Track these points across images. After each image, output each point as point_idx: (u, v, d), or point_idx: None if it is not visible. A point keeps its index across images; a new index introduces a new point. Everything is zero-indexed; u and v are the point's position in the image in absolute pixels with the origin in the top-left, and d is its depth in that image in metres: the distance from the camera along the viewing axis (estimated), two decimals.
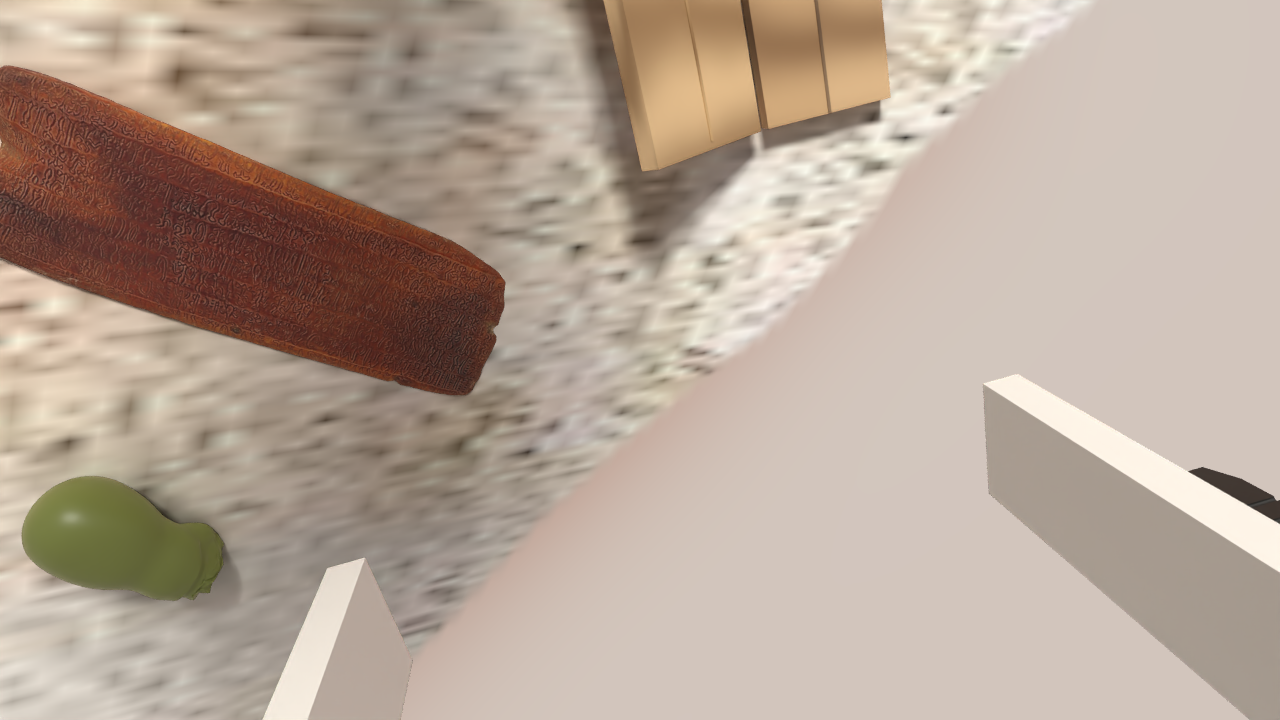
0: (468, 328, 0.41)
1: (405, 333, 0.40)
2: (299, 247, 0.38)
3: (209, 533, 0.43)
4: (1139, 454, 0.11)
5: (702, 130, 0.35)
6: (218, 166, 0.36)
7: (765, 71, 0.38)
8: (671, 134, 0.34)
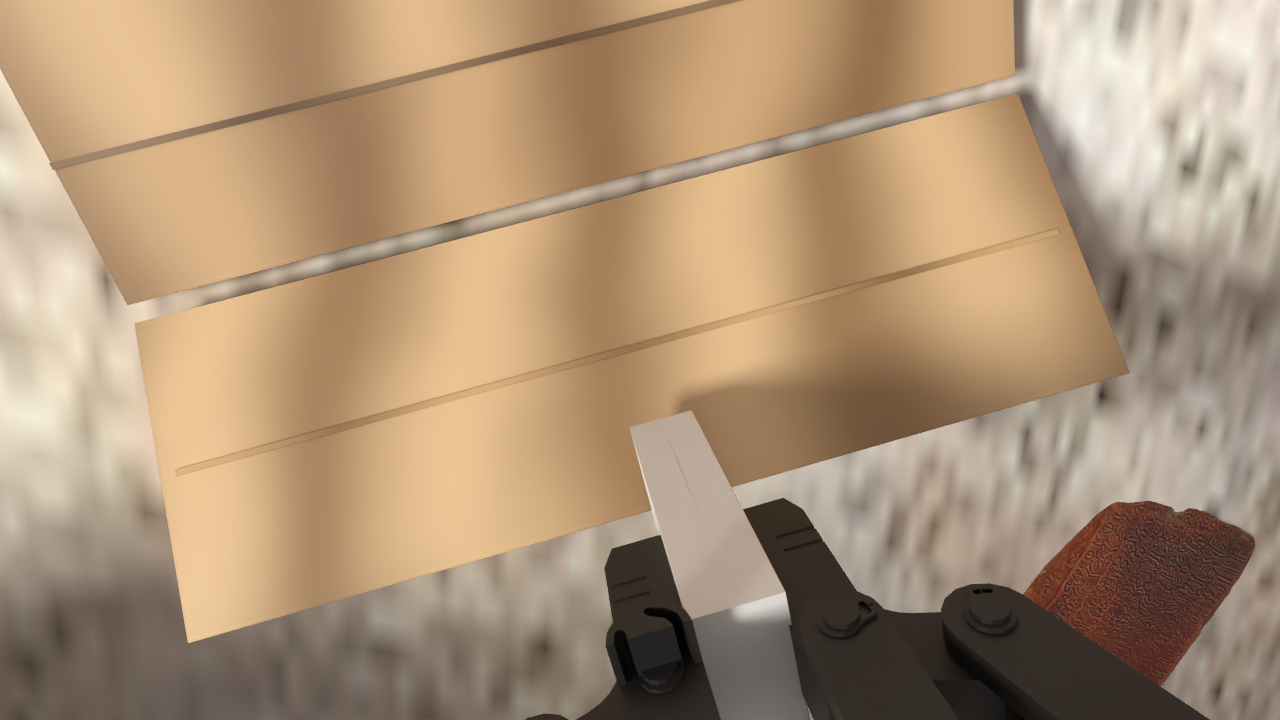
0: (1169, 545, 0.28)
1: (1153, 620, 0.29)
2: None
3: None
4: (718, 488, 0.13)
5: (1042, 257, 0.19)
6: None
7: (913, 89, 0.19)
8: (1061, 339, 0.18)
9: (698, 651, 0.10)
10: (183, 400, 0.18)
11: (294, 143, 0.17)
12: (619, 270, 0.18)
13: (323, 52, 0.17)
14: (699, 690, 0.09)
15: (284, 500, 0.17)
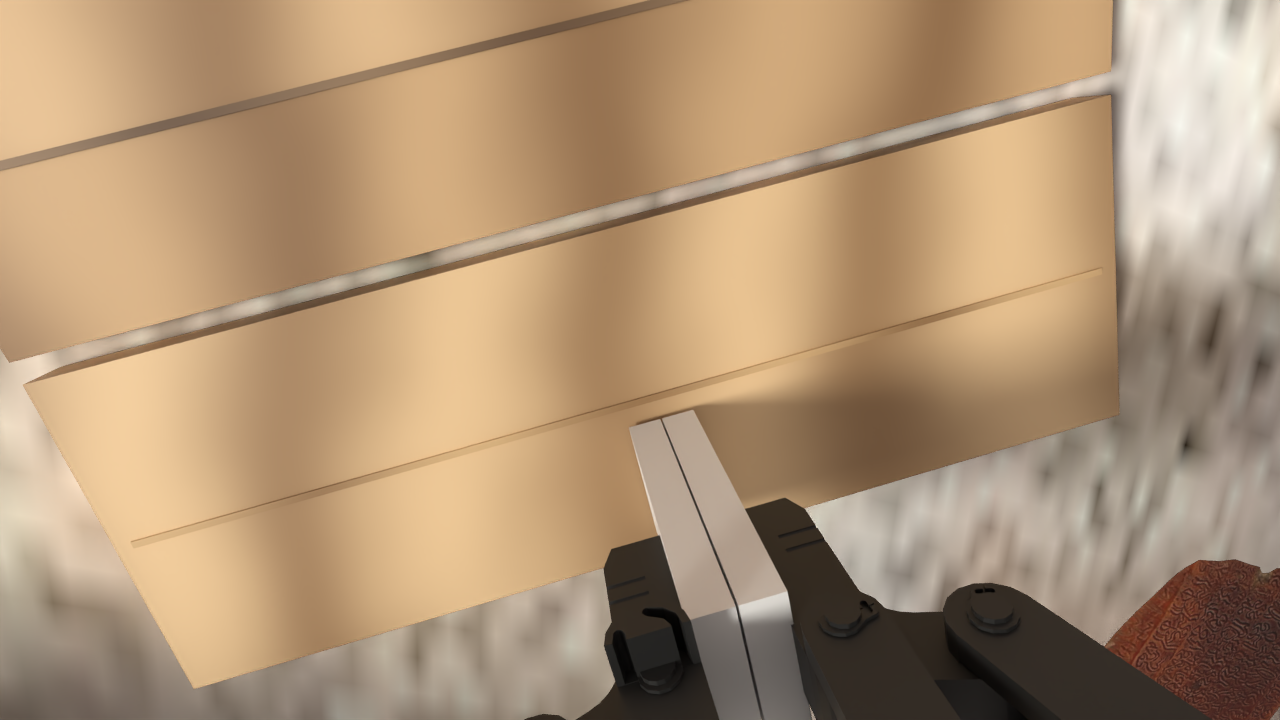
0: (1254, 611, 0.24)
1: (1232, 694, 0.25)
2: None
3: None
4: (720, 488, 0.13)
5: (1076, 299, 0.17)
6: None
7: (987, 88, 0.15)
8: (1067, 384, 0.18)
9: (697, 652, 0.10)
10: (117, 470, 0.15)
11: (214, 159, 0.14)
12: (624, 315, 0.16)
13: (248, 43, 0.13)
14: (698, 691, 0.09)
15: (266, 563, 0.16)
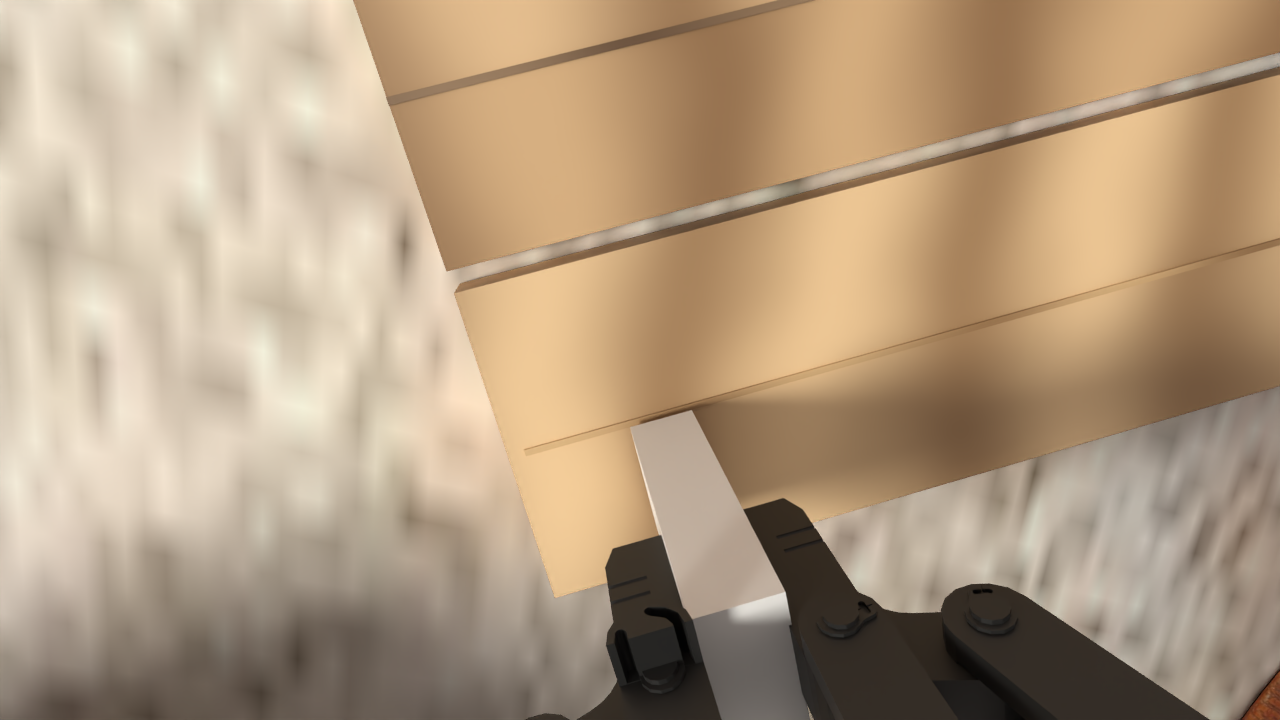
0: None
1: None
2: None
3: None
4: (718, 488, 0.13)
5: None
6: None
7: None
8: None
9: (699, 651, 0.10)
10: (522, 379, 0.16)
11: (661, 77, 0.14)
12: (991, 237, 0.17)
13: None
14: (700, 690, 0.09)
15: (637, 474, 0.17)
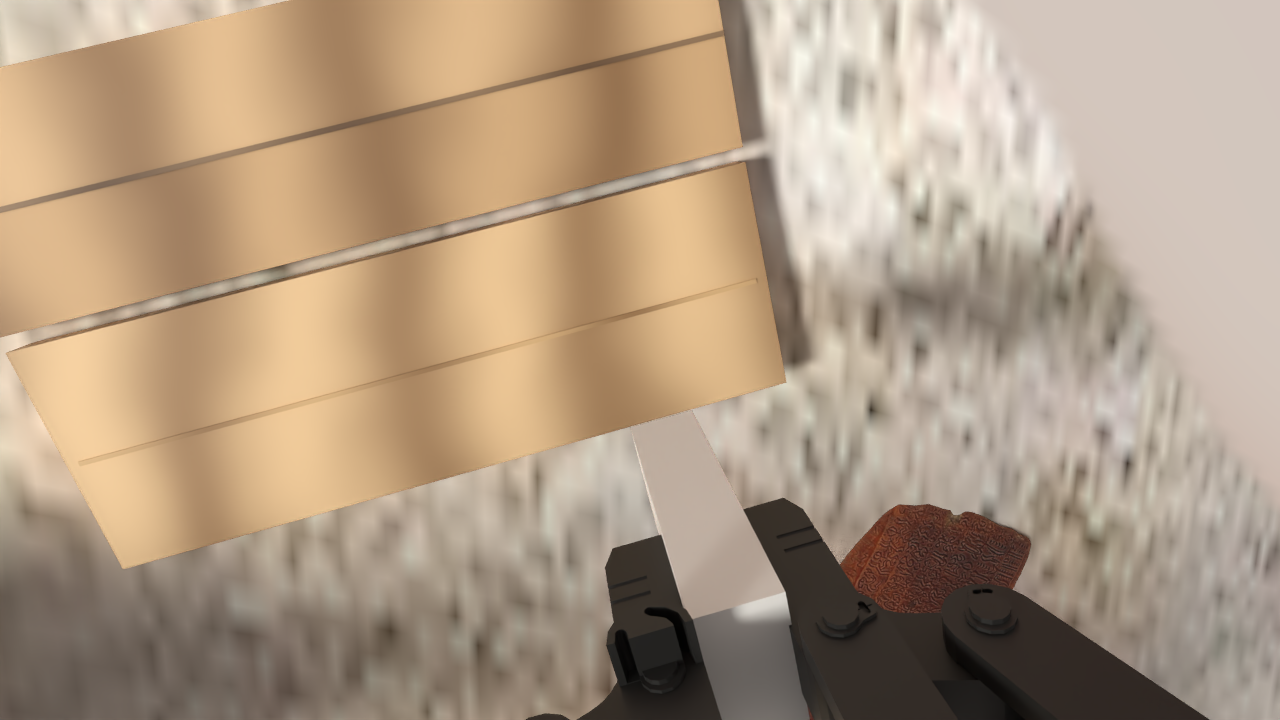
0: (950, 545, 0.32)
1: None
2: None
3: None
4: (718, 487, 0.13)
5: (741, 300, 0.25)
6: None
7: (656, 158, 0.23)
8: (744, 360, 0.26)
9: (699, 651, 0.10)
10: (68, 412, 0.23)
11: (131, 207, 0.21)
12: (415, 309, 0.23)
13: (151, 135, 0.21)
14: (700, 690, 0.09)
15: (171, 479, 0.24)
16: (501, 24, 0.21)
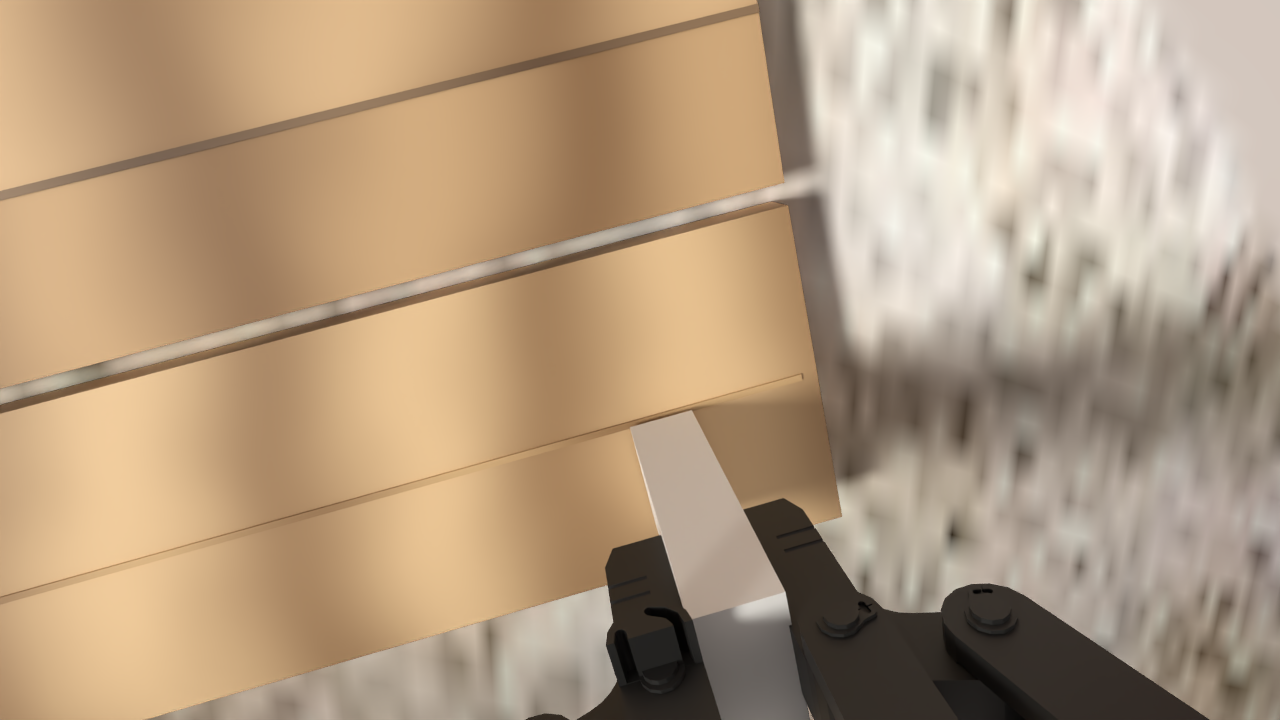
0: None
1: None
2: None
3: None
4: (718, 487, 0.13)
5: (778, 404, 0.17)
6: None
7: (652, 201, 0.15)
8: (781, 487, 0.18)
9: (698, 651, 0.10)
10: None
11: None
12: (290, 428, 0.16)
13: None
14: (699, 690, 0.09)
15: None
16: None
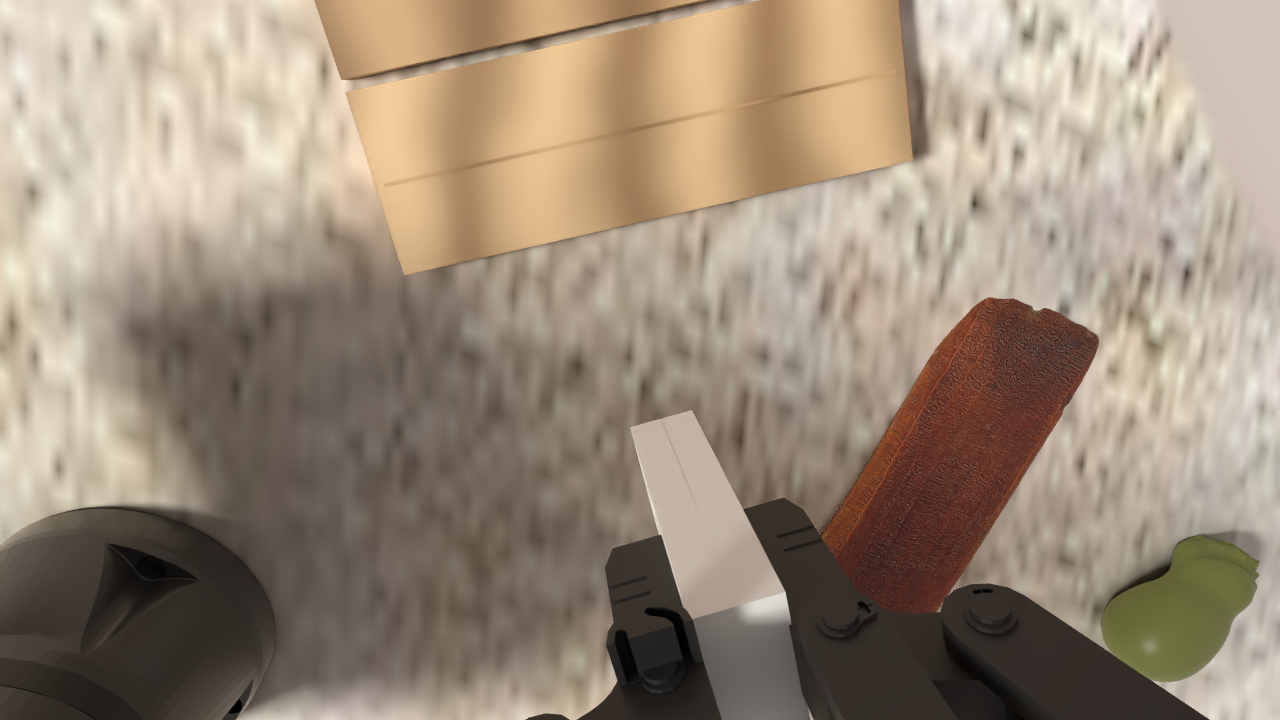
0: (1030, 335, 0.38)
1: (1021, 396, 0.40)
2: (923, 479, 0.40)
3: (1192, 545, 0.44)
4: (718, 488, 0.13)
5: (883, 86, 0.32)
6: (847, 532, 0.41)
7: None
8: (881, 138, 0.32)
9: (699, 651, 0.10)
10: (382, 142, 0.31)
11: None
12: (637, 77, 0.31)
13: None
14: (700, 690, 0.09)
15: (447, 204, 0.32)
16: None
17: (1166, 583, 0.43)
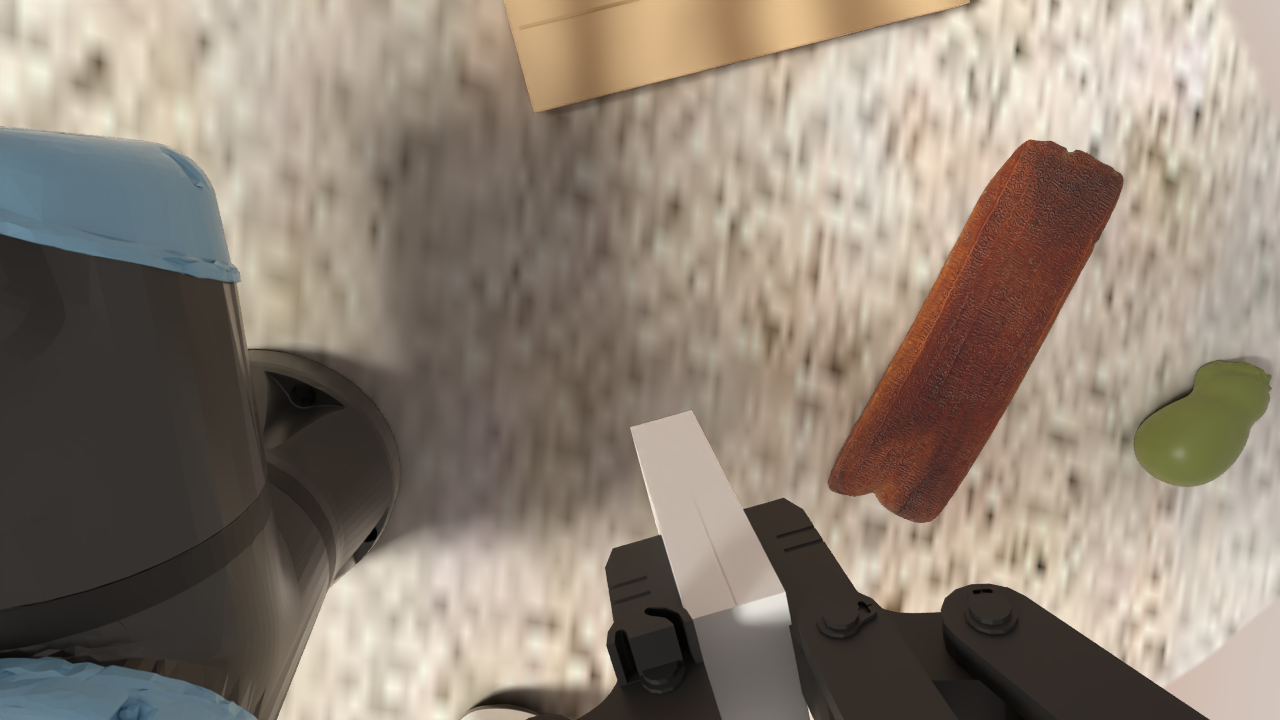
0: (1065, 174, 0.44)
1: (1058, 232, 0.45)
2: (975, 312, 0.46)
3: (1211, 367, 0.50)
4: (718, 487, 0.13)
5: None
6: (909, 363, 0.46)
7: None
8: None
9: (699, 651, 0.10)
10: None
11: None
12: None
13: None
14: (700, 690, 0.09)
15: (572, 45, 0.36)
16: None
17: (1191, 398, 0.49)
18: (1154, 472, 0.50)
